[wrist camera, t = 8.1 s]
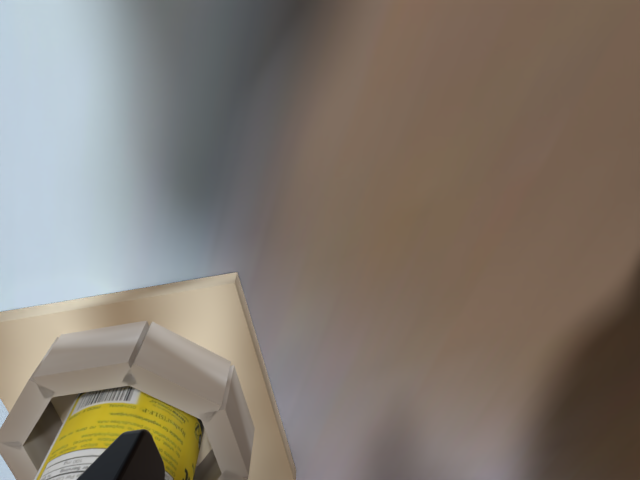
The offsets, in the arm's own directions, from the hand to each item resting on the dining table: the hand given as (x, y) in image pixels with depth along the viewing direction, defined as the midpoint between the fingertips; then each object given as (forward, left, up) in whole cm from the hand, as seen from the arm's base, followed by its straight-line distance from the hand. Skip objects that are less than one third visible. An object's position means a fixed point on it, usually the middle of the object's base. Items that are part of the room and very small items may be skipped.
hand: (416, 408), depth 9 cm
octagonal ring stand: (+11, +9, -12) cm, 19 cm away
